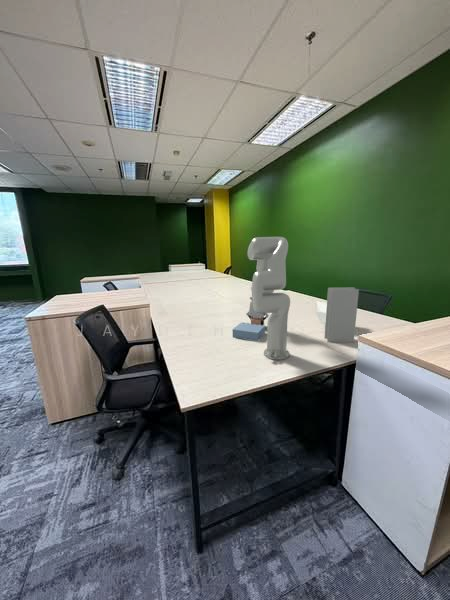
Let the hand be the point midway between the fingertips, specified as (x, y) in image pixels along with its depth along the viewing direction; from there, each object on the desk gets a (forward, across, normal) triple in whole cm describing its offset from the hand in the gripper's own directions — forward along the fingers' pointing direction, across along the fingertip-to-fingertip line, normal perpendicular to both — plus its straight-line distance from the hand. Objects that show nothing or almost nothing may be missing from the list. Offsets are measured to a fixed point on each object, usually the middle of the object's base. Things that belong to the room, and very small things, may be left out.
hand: (257, 325), depth 163 cm
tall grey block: (+1, +50, -4) cm, 50 cm away
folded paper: (+1, +44, +21) cm, 49 cm away
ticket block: (+1, 0, -16) cm, 16 cm away
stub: (+1, 0, 0) cm, 1 cm away
